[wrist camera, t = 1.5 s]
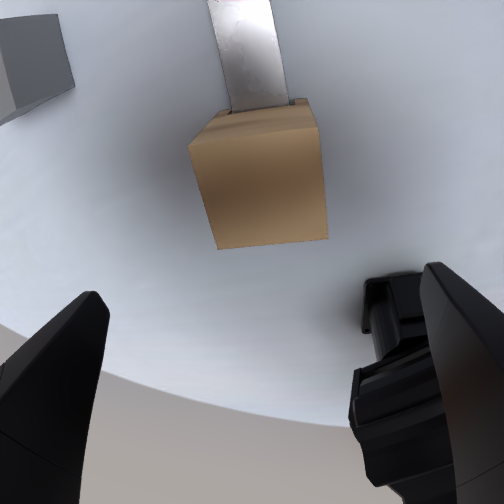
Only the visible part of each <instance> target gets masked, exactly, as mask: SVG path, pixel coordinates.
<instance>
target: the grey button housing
mask: <svg viewBox="0 0 504 504" xmlns="http://www.w3.org/2000/svg"><path fill="white" fill-rule="evenodd" d="M73 87H75V84H74V81H73V77H72V74H71V70H70V66H69V63H68V59H67V55H66V51H65V47H64V43H63V39H62V34H61V30H60V25H59V21H58V16H57V14H47V15H33V16H22V17H13V18H5V19H0V126H1V125H3V124H5V123H7V122H9V121H11V120H13V119H15V118H17V117H19V116H21V115H23V114H25V113H26V112H28V111H30V110H31V109H33V108H35V107H37V106H38V105H40V104H42V103H44V102H46V101H47V100H49V99H51V98H53V97H55V96H57V95H59V94H61V93H63V92H65V91H67V90H69V89H71V88H73Z"/></svg>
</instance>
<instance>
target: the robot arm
mask: <svg viewBox="0 0 504 504" xmlns="http://www.w3.org/2000/svg"><path fill="white" fill-rule="evenodd" d="M370 285H372V286H370ZM109 319H110V312H109V309H108V307H107V306H106V304H105V303H104V301H103V300H102V298H101V297H100V295H99V294H98V293H97V292H96V291H85V292H83V293H82V294H80V295H79V296H78V297H77V298H76V299H74V300H73V301H72V302H71V303H70V304H69V305H67V306H66V307H65V308H64V309H63V310H62V311H60V312H59V313H58V314H57V315H56V316H55V317H53V318H52V319H51V320H50V321H49V322H48V323H47V324H45V325H44V326H43V327H42V328H41V329H40V330H39V331H38V332H36V333H35V334H34V335H33V336H32V337H31V338H30V339H29V340H28V341H27V342H25V343H24V344H23V345H22V346H21V347H20V348H19V349H18V350H17V351H16V352H15V353H14V354H13V355H12V356H11V357H9V358H8V359H7V360H6V362H5V363H3V364H2V365H1V366H0V504H79V499H80V489H81V479H82V478H81V477H82V470H83V462H84V455H85V448H86V442H87V436H88V430H89V424H90V419H91V413H92V408H93V403H94V398H95V394H96V389H97V384H98V380H99V375H100V371H101V367H102V362H103V356H104V350H105V343H106V337H107V331H108V325H109ZM361 330H362V333H363V334H370V333H372V336H373V341H374V347H375V353H376V358H377V362H376V363H373V364H371V365H369V366H366V367H364V368H358V369H356V370H354V375H353V382H352V391H351V399H350V407H349V415H348V419H349V421H350V427H351V429H352V431H353V433H354V435H355V437H356V439H357V441H358V442H359V443H360V445H361V448H362V452H363V457H364V463H365V470H366V476H367V478H368V479H369V480H370V482H371V483H372V484H373V485H374V486H375V487H380V486H385V485H387V486H388V487H390V488H391V489H392V490H393V491H394V492H396V493H397V494H398V495H399V496H400V497H401V498H402V501H403V504H504V313H503V312H501V311H500V310H499V309H498V308H497V307H496V306H495V305H493V304H492V303H491V302H490V301H489V300H488V299H486V298H485V297H484V296H483V295H482V294H481V293H479V292H478V291H477V290H476V289H475V288H473V287H472V286H471V285H470V284H468V283H467V282H466V281H465V280H464V279H462V278H461V277H460V276H459V275H457V274H456V273H455V272H453V271H452V270H451V269H450V268H448V267H447V266H446V265H445V264H443V263H442V262H431V263H427V264H426V265H425V267H424V271H423V274H414V275H406V276H397V277H388V278H379V279H370V280H368V281H366V282H365V287H364V301H363V314H362V325H361Z"/></svg>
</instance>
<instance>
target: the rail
mask: <svg viewBox="0 0 504 504" xmlns="http://www.w3.org/2000/svg"><path fill="white" fill-rule="evenodd" d="M207 2H208V6H209V10H210V14H211V19H212V23H213V27H214V32H215V36H216V40H217V45H218V49H219V53H220V58H221V62H222V67H223V71H224V76H225V80H226V84H227V89H228V93H229V98H230V102H231V107H232V111H233V114H236V113H241V112H247V111H253V110H260V109H267V108H274V107H281V106H289V105H290V103H289V97H288V91H287V86H286V80H285V74H284V69H283V63H282V58H281V53H280V48H279V43H278V38H277V33H276V28H275V23H274V18H273V14H272V9H271V4H270V0H207Z"/></svg>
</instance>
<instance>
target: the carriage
mask: <svg viewBox="0 0 504 504" xmlns="http://www.w3.org/2000/svg"><path fill="white" fill-rule="evenodd" d="M294 102H295V105H289V106H281V107H274V108H267V109H260V110H253V111H247V112H241V113H236V114H233V113H232V109H228V110H223V111H219V113H218V114H217V115H216V116H215V117H214V118H213V119H212V120H211V121H210V122H209V123H208V124H207V125H206V126H205V128H204V129H203V130H202V131H201V132H200V133H199V134H198V135H197V136H196V138H195V139H194V140H193V141H192V142H191V143H190V144H189V145H188V151H189V154H190V158H191V161H192V165H193V168H194V172H195V175H196V179H197V182H198V186H199V189H200V192H201V196H202V199H203V203H204V206H205V209H206V213H207V216H208V219H209V223H210V226H211V229H212V233H213V236H214V239H215V242H216V246H217V249H218V250H219V249H229V248H239V247H250V246H260V245H270V244H281V243H291V242H302V241H312V240H323V239H328V228H327V214H326V201H325V189H324V178H323V168H322V158H321V149H320V141H319V132H318V126H317V123H316V121H315V118H314V116H313V113H312V111H311V108H310V106H309V103H308V101H307V98H304V99H295V100H294Z"/></svg>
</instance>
